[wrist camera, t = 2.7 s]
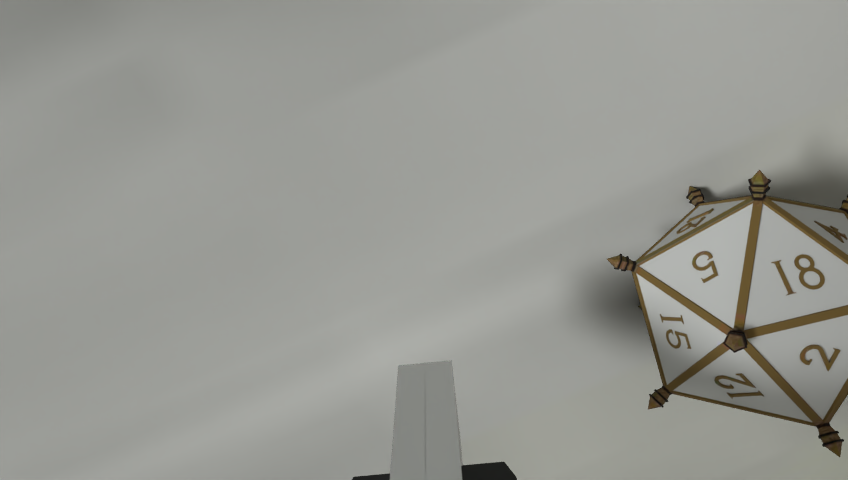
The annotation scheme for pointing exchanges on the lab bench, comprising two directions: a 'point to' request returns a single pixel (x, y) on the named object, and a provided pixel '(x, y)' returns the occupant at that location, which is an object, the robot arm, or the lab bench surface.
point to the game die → (751, 306)
